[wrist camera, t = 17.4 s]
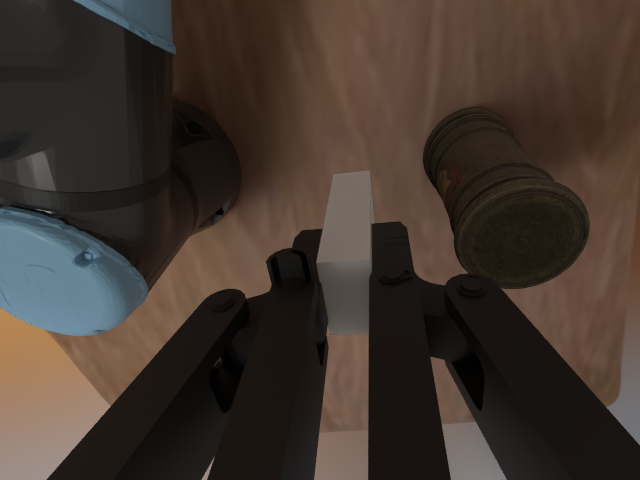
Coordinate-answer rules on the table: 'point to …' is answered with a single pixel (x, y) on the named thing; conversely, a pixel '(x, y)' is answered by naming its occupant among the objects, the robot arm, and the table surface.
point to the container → (502, 202)
